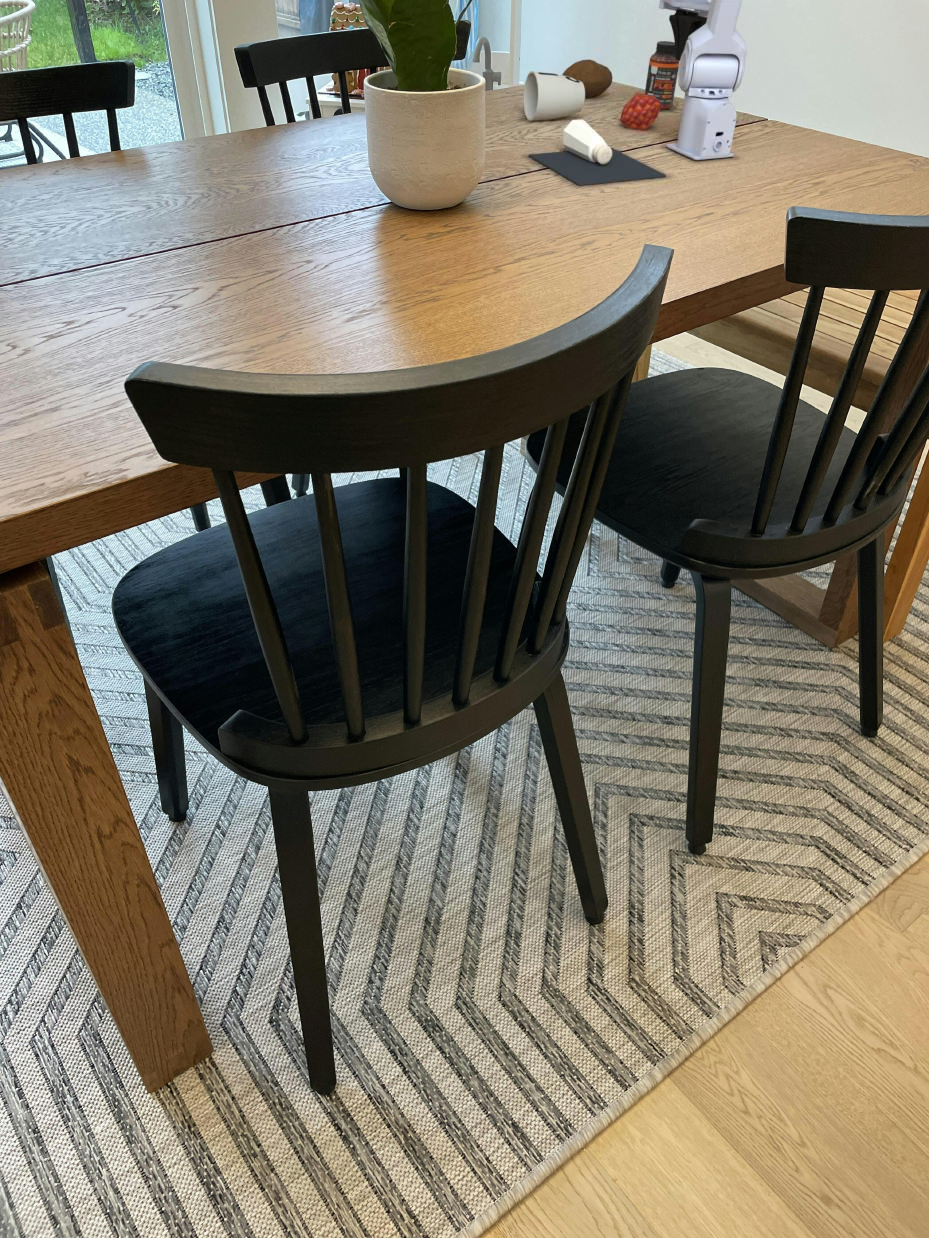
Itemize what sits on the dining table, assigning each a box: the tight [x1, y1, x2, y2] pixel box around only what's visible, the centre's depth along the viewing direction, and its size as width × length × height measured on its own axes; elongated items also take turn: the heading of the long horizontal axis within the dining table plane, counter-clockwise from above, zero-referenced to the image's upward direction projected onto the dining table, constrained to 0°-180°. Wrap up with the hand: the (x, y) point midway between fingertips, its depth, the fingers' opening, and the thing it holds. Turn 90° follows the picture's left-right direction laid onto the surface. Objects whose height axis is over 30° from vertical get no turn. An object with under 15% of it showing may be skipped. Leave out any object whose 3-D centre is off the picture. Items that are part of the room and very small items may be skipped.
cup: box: [523, 71, 586, 122], centre depth 175 cm, size 8×8×10 cm
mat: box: [528, 146, 667, 187], centre depth 152 cm, size 18×16×1 cm
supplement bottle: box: [644, 40, 680, 111], centre depth 184 cm, size 6×6×11 cm
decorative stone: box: [619, 93, 662, 131], centre depth 172 cm, size 6×7×8 cm
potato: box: [561, 59, 613, 99], centre depth 190 cm, size 7×12×7 cm, turn 117°
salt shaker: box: [561, 119, 612, 164], centre depth 154 cm, size 5×5×11 cm
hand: (682, 60), depth 171 cm, fingers closed
